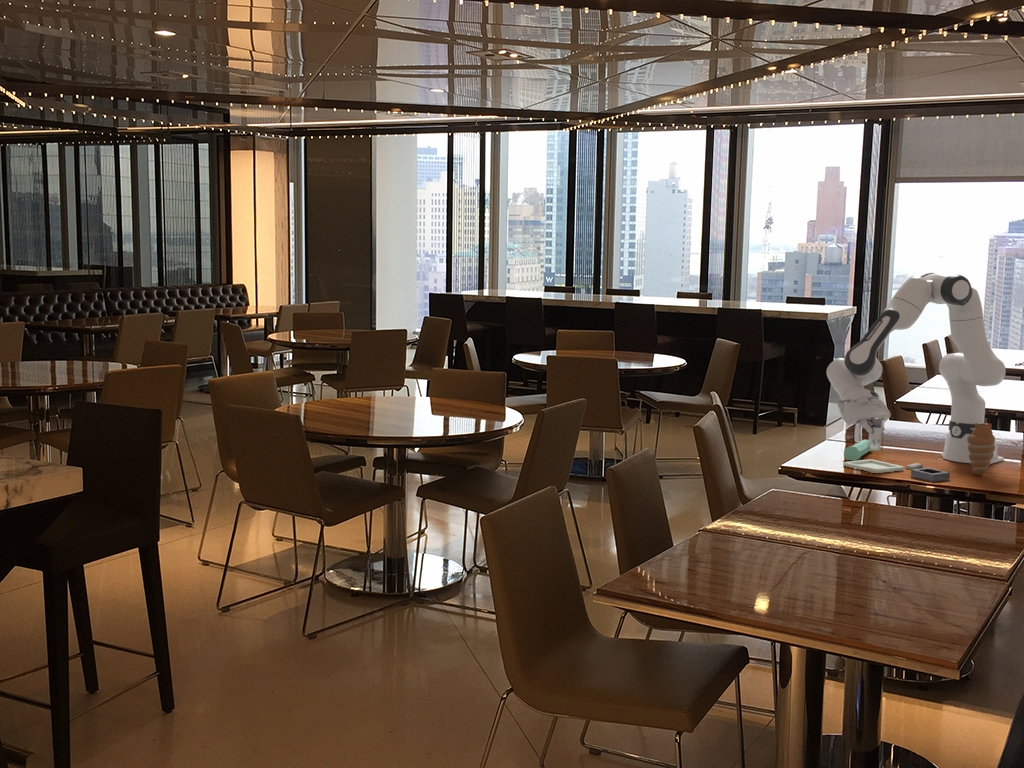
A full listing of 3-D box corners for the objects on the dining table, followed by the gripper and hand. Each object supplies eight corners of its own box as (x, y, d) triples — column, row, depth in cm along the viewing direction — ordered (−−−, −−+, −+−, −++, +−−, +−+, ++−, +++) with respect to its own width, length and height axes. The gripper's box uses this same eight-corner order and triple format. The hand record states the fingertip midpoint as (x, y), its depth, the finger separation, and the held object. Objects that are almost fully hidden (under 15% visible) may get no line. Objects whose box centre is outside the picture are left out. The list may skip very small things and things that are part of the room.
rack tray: (870, 463, 344) (870, 459, 344) (903, 470, 332) (903, 466, 332) (843, 466, 337) (843, 462, 337) (875, 474, 325) (876, 470, 325)
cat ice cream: (987, 473, 331) (991, 421, 328) (997, 478, 323) (1002, 425, 321) (960, 472, 331) (965, 421, 329) (970, 477, 323) (975, 424, 321)
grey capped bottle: (873, 448, 336) (875, 417, 335) (882, 450, 333) (885, 418, 332) (865, 449, 334) (867, 417, 333) (874, 451, 331) (877, 419, 330)
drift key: (915, 467, 341) (915, 462, 341) (922, 468, 340) (922, 464, 339) (905, 470, 336) (906, 465, 336) (913, 471, 334) (913, 466, 334)
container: (863, 434, 369) (847, 442, 348) (877, 442, 366) (863, 450, 345) (856, 448, 371) (840, 457, 350) (870, 455, 368) (855, 465, 347)
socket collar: (927, 474, 326) (927, 467, 326) (949, 479, 319) (949, 472, 319) (910, 477, 322) (911, 469, 322) (932, 482, 315) (933, 474, 315)
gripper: (841, 395, 332) (861, 427, 325) (881, 392, 342) (902, 424, 335) (830, 406, 337) (850, 438, 329) (870, 403, 347) (890, 435, 340)
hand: (876, 431), depth 332 cm, fingers closed on grey capped bottle, 4 cm apart
